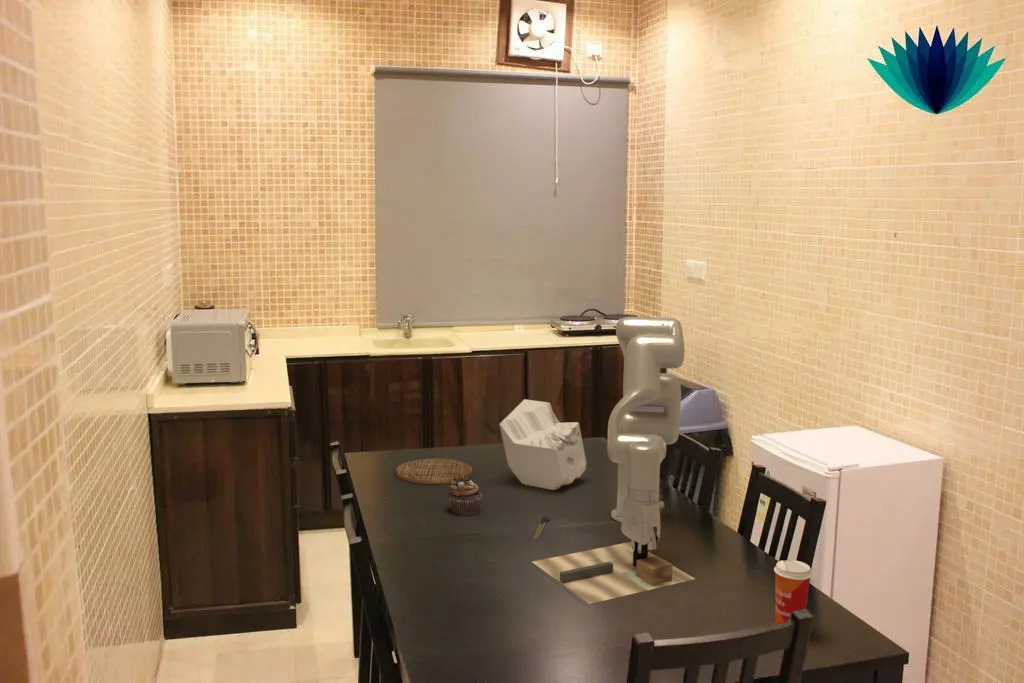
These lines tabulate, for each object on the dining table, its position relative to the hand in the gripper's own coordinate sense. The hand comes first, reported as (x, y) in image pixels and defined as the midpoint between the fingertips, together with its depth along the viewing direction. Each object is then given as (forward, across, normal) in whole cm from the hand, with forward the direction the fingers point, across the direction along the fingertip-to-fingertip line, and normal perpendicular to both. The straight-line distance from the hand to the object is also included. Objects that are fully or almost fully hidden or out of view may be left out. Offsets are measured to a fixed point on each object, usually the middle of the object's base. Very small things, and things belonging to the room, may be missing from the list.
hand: (640, 566), depth 213 cm
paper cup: (+2, +37, +12) cm, 39 cm away
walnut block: (+1, +5, 0) cm, 5 cm away
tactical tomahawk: (+3, -34, -7) cm, 35 cm away
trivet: (+3, -96, -13) cm, 97 cm away
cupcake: (+2, -59, -19) cm, 62 cm away
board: (+2, -3, -6) cm, 7 cm away
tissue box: (+2, -70, +14) cm, 72 cm away
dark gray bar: (+1, -3, -14) cm, 14 cm away
